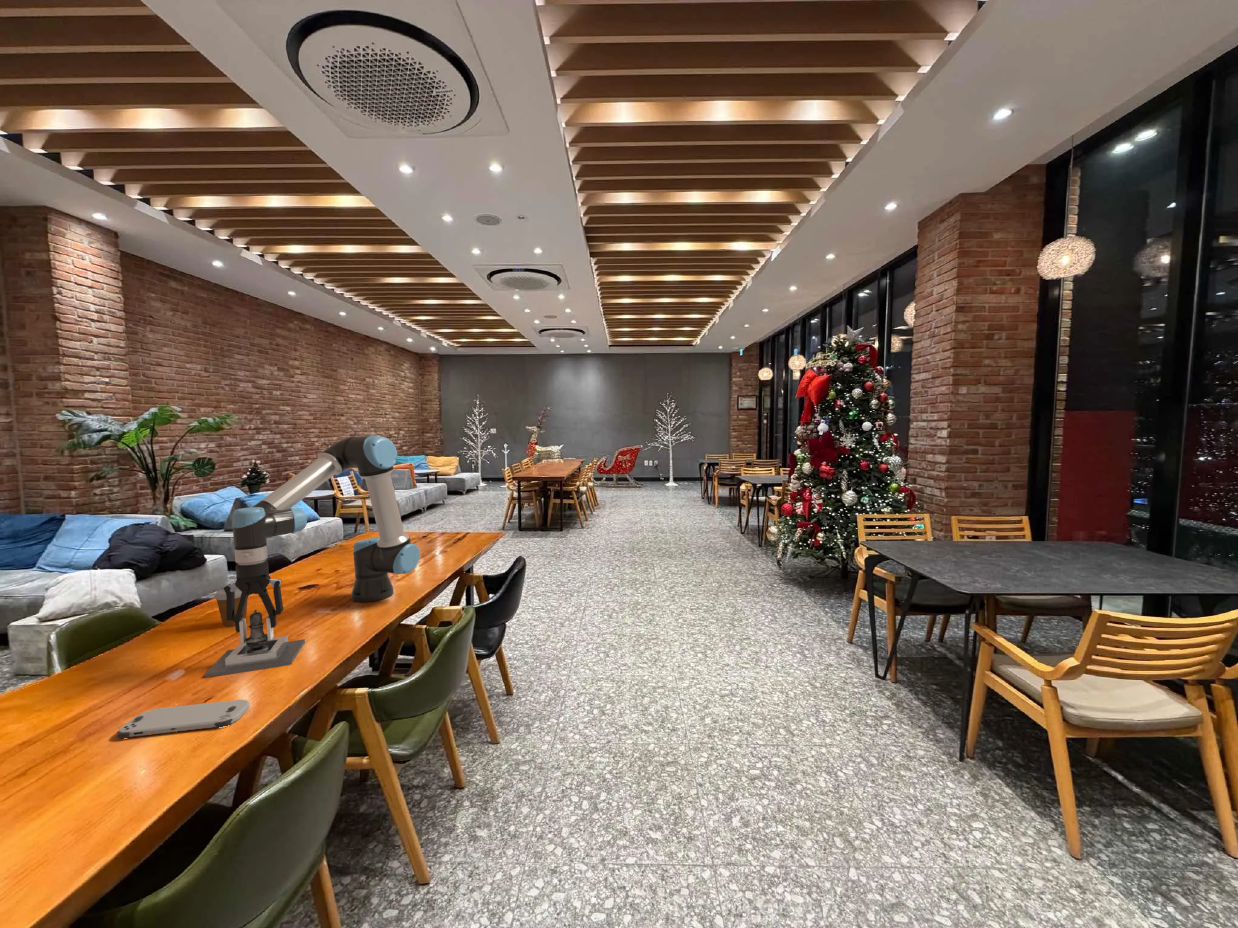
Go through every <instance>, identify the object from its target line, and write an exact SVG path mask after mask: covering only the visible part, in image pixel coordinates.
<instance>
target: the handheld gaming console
mask: <svg viewBox="0 0 1238 928" xmlns="http://www.w3.org/2000/svg"><path fill="white" fill-rule="evenodd" d="M249 709H250V701H248V700H246V699H234V700H226V701H216V702H207V703H205V702H204V703H197V704H196V703H195V704H188V705H187V704H185V705H178V706H169V707H167V706H166V707H159V708H154V709H150V710H146V711H144V712H142V713H140V714H137V715H136V716H135V717H133V718H132V719H131V720H129V721H127V722H126V723H125V724H124V725H123V726H121V727H120V728H118V730H117V732H116V734H117V736H116V737H117V739H118V738H119V739H124V738H129V737H131V738H134V737H133V736H139V737H143V736H142V735H148V736H150V735H149V734H157V735H160V734H159V733H166V734H170V733H169V732H175V733H177V732H176V731H184V732H186V731H185V730H193V731H196V730H195V729H201V730H204V729H203V728H210V729H216V728H219V727H223V726H228V725H230V726H231V725H232V724H231V723H233V722H234V723H236V722H237V721H238V720H239V719H240V718H241V717H242V716H243V715H244V714H245V713H247V711H248V710H249ZM235 721H236V722H235ZM234 723H233V724H234ZM213 727H215V728H213ZM119 739H118V740H119ZM129 739H130V738H129Z"/></svg>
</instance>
